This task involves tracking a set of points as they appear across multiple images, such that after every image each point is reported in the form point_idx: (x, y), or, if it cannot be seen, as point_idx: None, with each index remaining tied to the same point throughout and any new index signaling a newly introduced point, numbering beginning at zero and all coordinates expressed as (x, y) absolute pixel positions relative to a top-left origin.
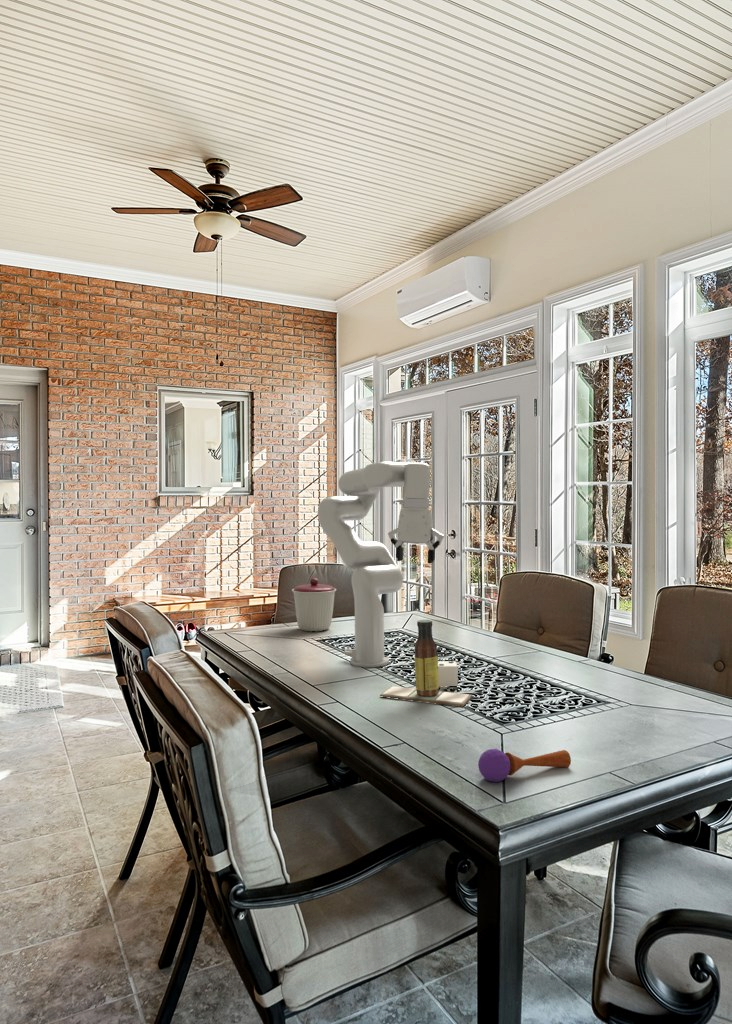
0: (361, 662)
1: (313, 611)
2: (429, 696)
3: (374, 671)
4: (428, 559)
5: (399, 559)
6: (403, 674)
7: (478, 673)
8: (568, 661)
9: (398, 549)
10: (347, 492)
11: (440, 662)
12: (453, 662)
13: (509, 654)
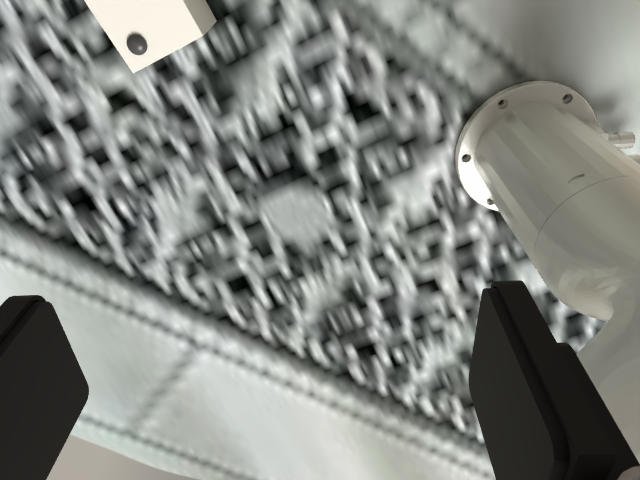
0: (545, 101)
1: None
2: None
3: (472, 49)
4: (3, 327)
5: (488, 298)
6: (358, 58)
7: (144, 181)
8: None
9: (572, 425)
10: None
11: (173, 24)
12: (129, 49)
13: (176, 385)
